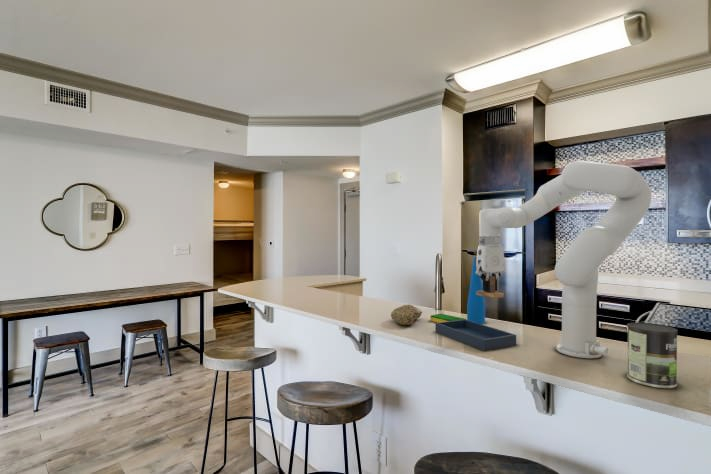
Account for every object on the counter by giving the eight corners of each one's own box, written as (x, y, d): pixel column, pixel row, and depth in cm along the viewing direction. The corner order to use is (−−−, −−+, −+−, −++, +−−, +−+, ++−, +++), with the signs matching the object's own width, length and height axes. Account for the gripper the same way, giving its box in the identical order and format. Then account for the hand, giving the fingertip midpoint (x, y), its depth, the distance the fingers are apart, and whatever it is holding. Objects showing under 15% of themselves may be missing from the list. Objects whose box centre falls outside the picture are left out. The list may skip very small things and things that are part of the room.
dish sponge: (456, 327, 153) (456, 321, 153) (429, 320, 164) (429, 315, 164) (466, 324, 158) (466, 318, 158) (440, 318, 168) (440, 313, 168)
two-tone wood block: (504, 297, 138) (504, 276, 138) (493, 298, 136) (493, 277, 136) (486, 293, 146) (486, 274, 146) (476, 294, 144) (476, 275, 144)
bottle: (484, 324, 158) (485, 252, 157) (466, 323, 160) (467, 251, 160) (485, 320, 164) (485, 251, 164) (467, 319, 167) (468, 251, 167)
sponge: (402, 319, 173) (378, 317, 157) (406, 302, 173) (383, 299, 157) (427, 328, 165) (405, 328, 149) (431, 311, 165) (410, 309, 149)
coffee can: (682, 382, 97) (683, 327, 96) (669, 392, 91) (670, 334, 90) (634, 370, 105) (635, 320, 105) (620, 378, 99) (620, 325, 99)
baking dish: (516, 345, 129) (516, 334, 129) (484, 351, 122) (484, 340, 122) (464, 328, 152) (464, 319, 152) (435, 332, 145) (435, 322, 145)
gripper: (479, 242, 134) (480, 293, 134) (513, 241, 140) (514, 290, 140) (465, 241, 141) (465, 290, 141) (498, 241, 147) (498, 288, 147)
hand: (489, 290), depth 141 cm, fingers closed on two-tone wood block, 2 cm apart
